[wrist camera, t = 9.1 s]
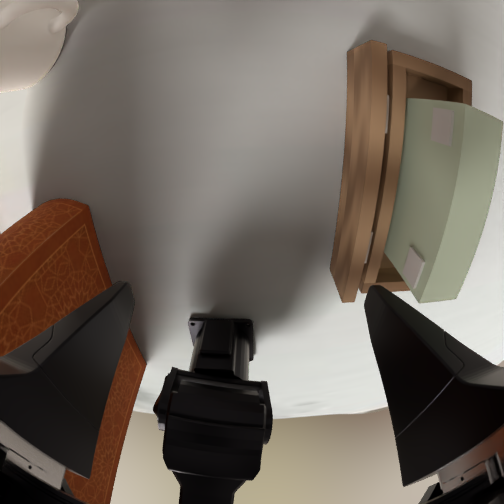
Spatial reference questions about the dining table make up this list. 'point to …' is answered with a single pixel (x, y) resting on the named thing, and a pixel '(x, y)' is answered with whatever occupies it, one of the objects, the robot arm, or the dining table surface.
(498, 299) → the dining table surface
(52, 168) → the dining table surface
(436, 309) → the dining table surface
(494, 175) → the pale green box
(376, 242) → the box
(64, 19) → the mug
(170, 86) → the dining table surface
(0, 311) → the book
